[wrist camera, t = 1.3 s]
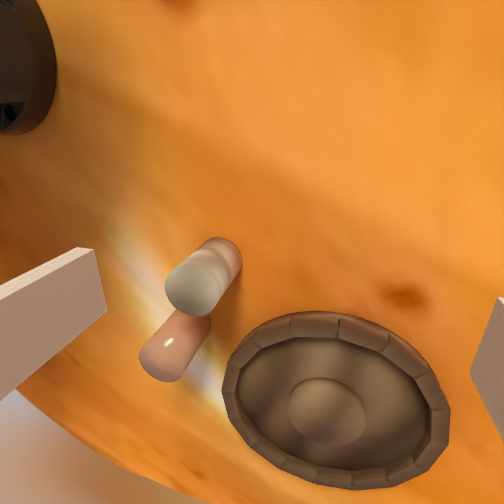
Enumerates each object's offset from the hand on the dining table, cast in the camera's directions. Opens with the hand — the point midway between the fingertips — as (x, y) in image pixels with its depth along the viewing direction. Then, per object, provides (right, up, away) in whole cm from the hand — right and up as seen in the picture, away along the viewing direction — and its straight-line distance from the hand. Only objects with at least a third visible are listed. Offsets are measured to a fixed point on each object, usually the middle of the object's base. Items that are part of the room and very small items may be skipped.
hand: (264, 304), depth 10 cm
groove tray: (+8, -15, +24) cm, 30 cm away
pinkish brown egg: (-7, -6, +25) cm, 27 cm away
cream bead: (-4, +1, +21) cm, 21 cm away
